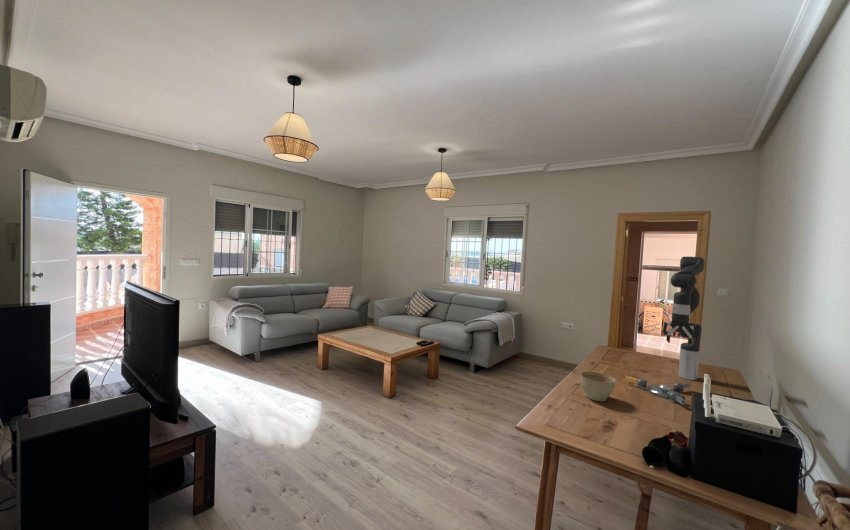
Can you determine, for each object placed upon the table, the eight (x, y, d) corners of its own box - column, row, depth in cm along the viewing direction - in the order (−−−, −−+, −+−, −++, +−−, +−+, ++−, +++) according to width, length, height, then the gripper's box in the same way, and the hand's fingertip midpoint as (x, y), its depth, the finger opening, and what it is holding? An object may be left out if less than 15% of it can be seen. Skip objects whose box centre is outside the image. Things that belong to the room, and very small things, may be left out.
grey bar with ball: (679, 391, 191) (680, 385, 191) (671, 388, 195) (672, 382, 195) (692, 389, 194) (693, 383, 194) (684, 386, 198) (685, 380, 198)
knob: (667, 397, 182) (668, 390, 182) (677, 398, 181) (677, 391, 181) (678, 405, 172) (678, 399, 172) (688, 406, 171) (688, 400, 171)
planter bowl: (612, 407, 169) (614, 385, 169) (576, 398, 178) (577, 377, 177) (615, 396, 183) (616, 375, 182) (581, 388, 191) (582, 368, 191)
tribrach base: (643, 382, 206) (643, 375, 205) (683, 392, 193) (684, 384, 193) (635, 392, 189) (636, 385, 189) (679, 404, 177) (680, 396, 177)
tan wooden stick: (647, 385, 197) (647, 380, 197) (645, 387, 194) (646, 382, 194) (626, 380, 204) (626, 375, 203) (624, 382, 200) (625, 377, 200)
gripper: (696, 313, 184) (694, 344, 185) (663, 310, 191) (661, 339, 192) (699, 315, 178) (696, 347, 179) (665, 312, 185) (662, 343, 186)
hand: (678, 343), depth 186 cm, fingers open, 8 cm apart
